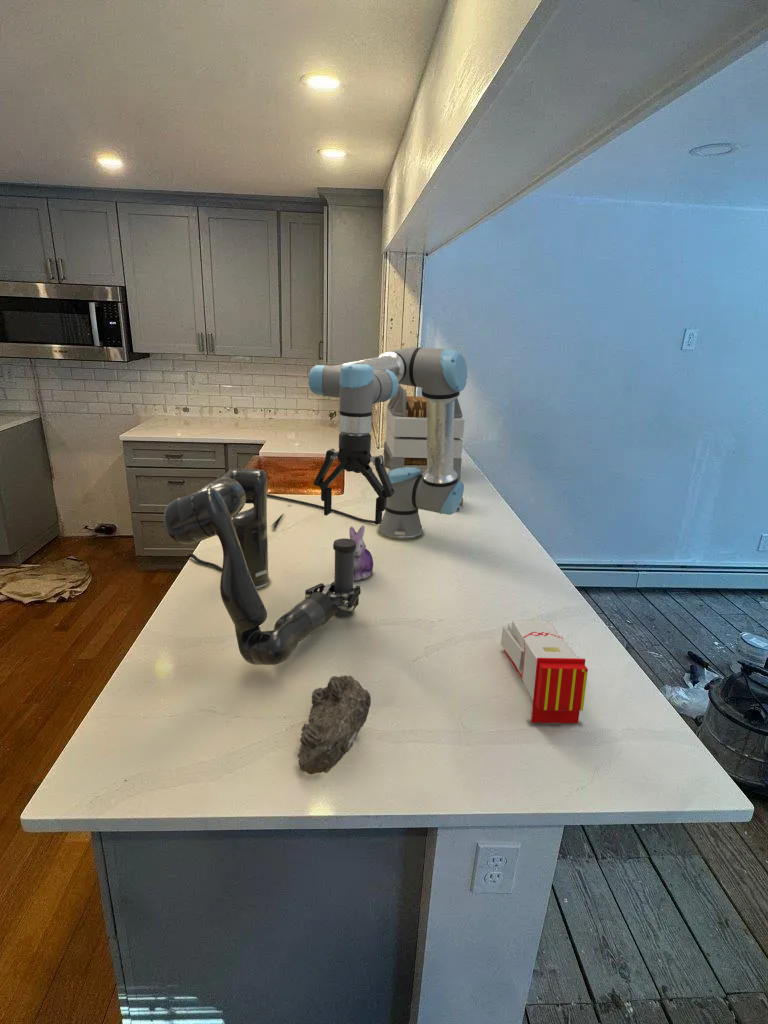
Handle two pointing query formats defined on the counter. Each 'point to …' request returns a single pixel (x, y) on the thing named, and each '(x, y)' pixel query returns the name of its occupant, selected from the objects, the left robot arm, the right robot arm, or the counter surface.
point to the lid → (344, 545)
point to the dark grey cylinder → (343, 576)
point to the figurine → (361, 555)
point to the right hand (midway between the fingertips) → (352, 518)
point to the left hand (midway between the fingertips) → (348, 586)
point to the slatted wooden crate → (414, 432)
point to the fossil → (333, 723)
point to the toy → (547, 670)
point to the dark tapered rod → (277, 521)
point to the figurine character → (461, 503)
